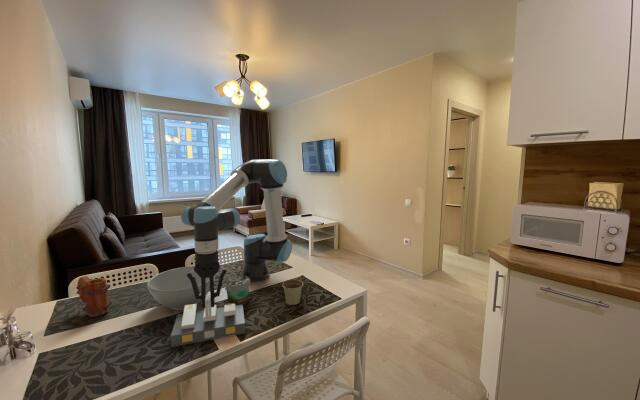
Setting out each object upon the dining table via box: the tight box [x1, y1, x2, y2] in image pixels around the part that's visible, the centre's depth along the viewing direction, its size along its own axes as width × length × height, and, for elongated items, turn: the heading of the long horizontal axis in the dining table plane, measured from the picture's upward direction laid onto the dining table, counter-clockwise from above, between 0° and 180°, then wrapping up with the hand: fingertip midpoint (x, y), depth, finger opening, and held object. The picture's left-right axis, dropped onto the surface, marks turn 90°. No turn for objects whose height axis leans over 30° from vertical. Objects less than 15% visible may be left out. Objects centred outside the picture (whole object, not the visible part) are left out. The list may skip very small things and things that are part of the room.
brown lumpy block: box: [76, 275, 113, 318], centre depth 109 cm, size 15×8×15 cm, turn 71°
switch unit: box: [170, 304, 246, 348], centre depth 100 cm, size 14×24×5 cm, turn 109°
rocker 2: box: [203, 304, 217, 322], centre depth 99 cm, size 10×4×2 cm, turn 19°
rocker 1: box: [181, 304, 198, 329], centre depth 97 cm, size 10×4×2 cm, turn 19°
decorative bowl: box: [146, 265, 217, 311], centre depth 118 cm, size 27×27×12 cm
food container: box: [224, 276, 252, 306], centre depth 118 cm, size 12×6×10 cm, turn 148°
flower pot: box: [281, 279, 304, 306], centre depth 120 cm, size 9×9×9 cm
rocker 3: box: [224, 304, 236, 316], centre depth 102 cm, size 10×4×2 cm, turn 19°
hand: (208, 315), depth 95 cm, fingers closed
